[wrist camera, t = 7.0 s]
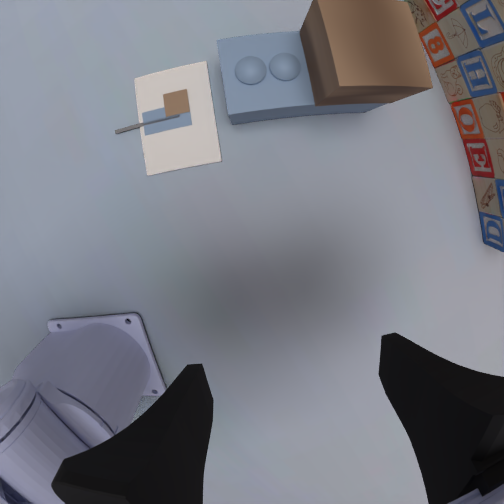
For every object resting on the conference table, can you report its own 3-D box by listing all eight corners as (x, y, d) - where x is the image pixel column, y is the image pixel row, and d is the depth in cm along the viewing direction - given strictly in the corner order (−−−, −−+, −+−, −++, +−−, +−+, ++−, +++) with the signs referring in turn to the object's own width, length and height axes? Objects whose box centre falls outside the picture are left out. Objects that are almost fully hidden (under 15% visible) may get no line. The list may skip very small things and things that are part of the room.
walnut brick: (315, 106, 15) (339, 86, 10) (299, 32, 13) (315, -6, 9) (390, 103, 14) (433, 87, 10) (373, 33, 13) (407, 2, 9)
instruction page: (124, 181, 19) (122, 181, 19) (112, 86, 17) (110, 85, 17) (221, 161, 19) (221, 161, 19) (206, 61, 17) (206, 60, 17)
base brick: (232, 124, 19) (227, 113, 14) (222, 62, 17) (216, 37, 13) (365, 112, 18) (392, 101, 14) (353, 52, 17) (375, 30, 13)
